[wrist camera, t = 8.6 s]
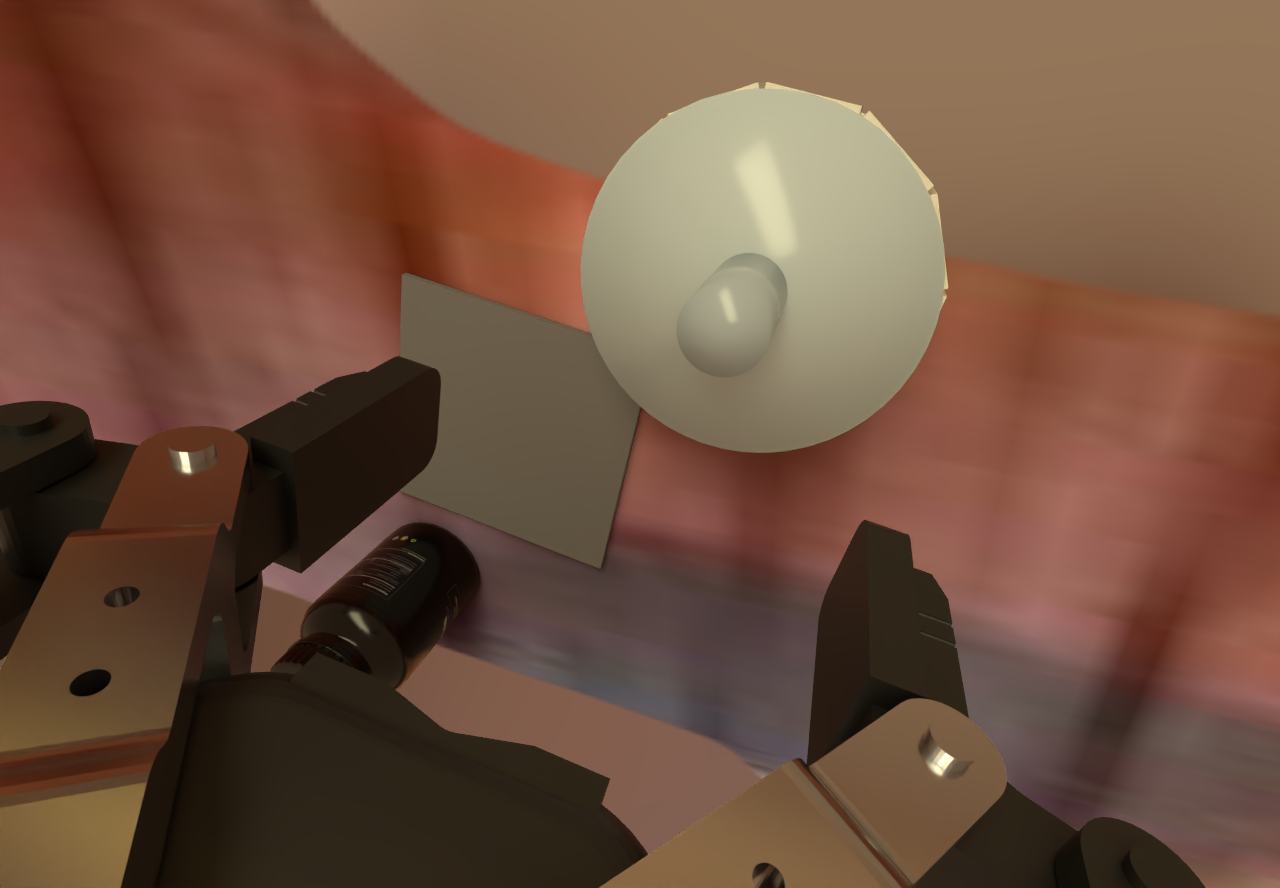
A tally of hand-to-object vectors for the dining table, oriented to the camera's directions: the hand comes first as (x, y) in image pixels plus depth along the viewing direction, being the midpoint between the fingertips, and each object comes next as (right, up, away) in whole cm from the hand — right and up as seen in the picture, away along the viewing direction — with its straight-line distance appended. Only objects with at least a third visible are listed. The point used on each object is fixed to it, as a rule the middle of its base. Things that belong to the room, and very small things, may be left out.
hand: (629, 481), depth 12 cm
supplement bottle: (-13, -7, +32) cm, 35 cm away
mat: (-7, +2, +25) cm, 26 cm away
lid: (+4, +7, +13) cm, 15 cm away
